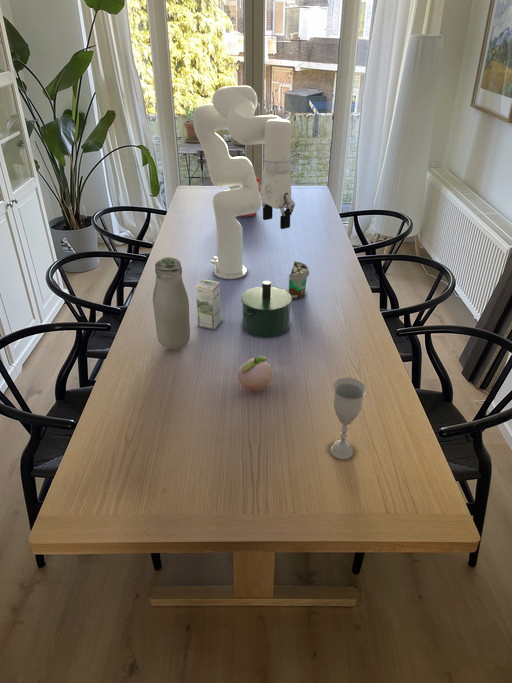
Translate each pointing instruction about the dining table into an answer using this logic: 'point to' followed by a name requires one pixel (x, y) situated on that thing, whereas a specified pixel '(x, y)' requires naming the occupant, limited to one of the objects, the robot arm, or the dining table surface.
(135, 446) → the dining table surface
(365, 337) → the dining table surface
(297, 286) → the food container
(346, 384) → the chalice
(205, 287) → the syrup box
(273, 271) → the dining table surface
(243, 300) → the lid
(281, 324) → the pot
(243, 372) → the decorative fruit
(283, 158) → the robot arm
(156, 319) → the glass bottle
